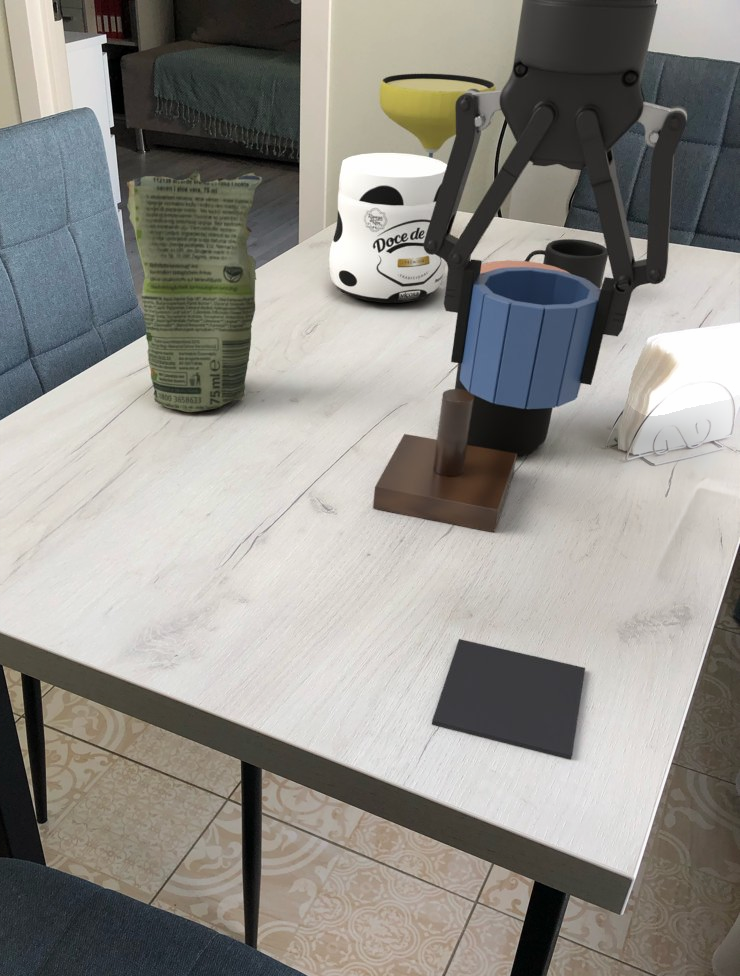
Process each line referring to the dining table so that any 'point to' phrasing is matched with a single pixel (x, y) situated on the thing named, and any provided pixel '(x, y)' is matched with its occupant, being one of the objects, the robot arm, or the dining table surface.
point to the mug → (576, 258)
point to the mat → (511, 698)
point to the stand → (447, 473)
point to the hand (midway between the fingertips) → (522, 365)
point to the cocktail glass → (427, 104)
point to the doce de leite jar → (386, 227)
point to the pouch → (196, 286)
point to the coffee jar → (503, 422)
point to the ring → (528, 336)
